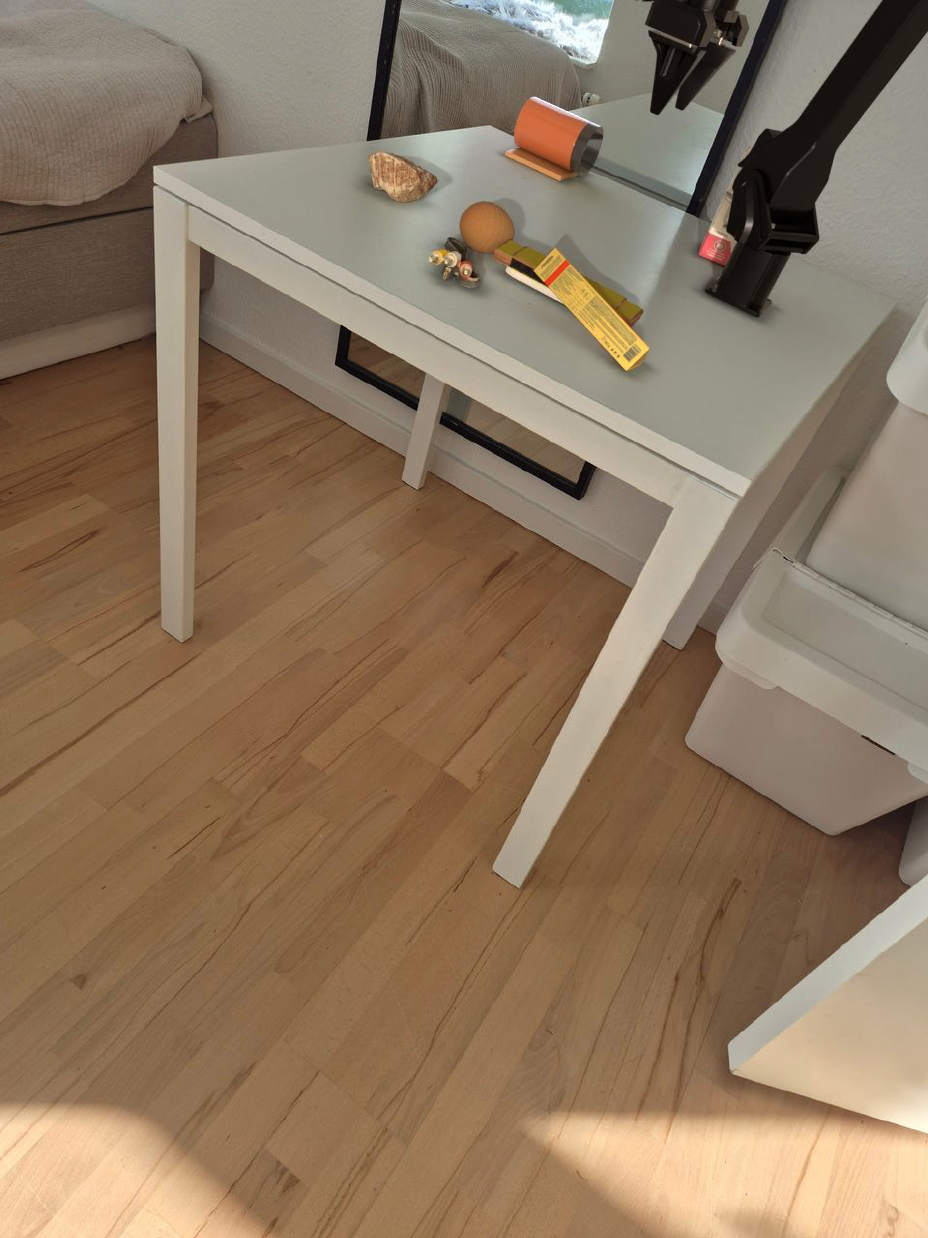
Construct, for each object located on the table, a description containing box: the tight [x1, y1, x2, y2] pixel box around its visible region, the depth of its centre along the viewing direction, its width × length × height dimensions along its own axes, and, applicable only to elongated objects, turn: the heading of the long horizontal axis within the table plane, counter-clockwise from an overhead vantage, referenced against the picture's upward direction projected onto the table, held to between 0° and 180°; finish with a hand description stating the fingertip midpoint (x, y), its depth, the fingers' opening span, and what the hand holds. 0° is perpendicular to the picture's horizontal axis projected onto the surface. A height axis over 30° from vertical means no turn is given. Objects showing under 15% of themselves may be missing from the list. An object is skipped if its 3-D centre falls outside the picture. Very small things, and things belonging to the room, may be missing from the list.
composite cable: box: [428, 236, 481, 289], centre depth 75 cm, size 10×5×2 cm, turn 169°
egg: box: [459, 200, 516, 254], centre depth 79 cm, size 4×4×6 cm
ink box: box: [698, 144, 775, 267], centre depth 97 cm, size 9×5×12 cm, turn 68°
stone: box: [367, 151, 439, 203], centre depth 84 cm, size 7×6×5 cm
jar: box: [513, 96, 605, 177], centre depth 108 cm, size 10×6×6 cm, turn 59°
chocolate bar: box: [534, 247, 651, 372], centre depth 71 cm, size 3×12×2 cm
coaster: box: [504, 147, 579, 182], centre depth 110 cm, size 8×8×1 cm
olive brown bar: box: [492, 240, 645, 329], centre depth 76 cm, size 15×3×2 cm, turn 60°
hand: (667, 111), depth 94 cm, fingers open, 9 cm apart
